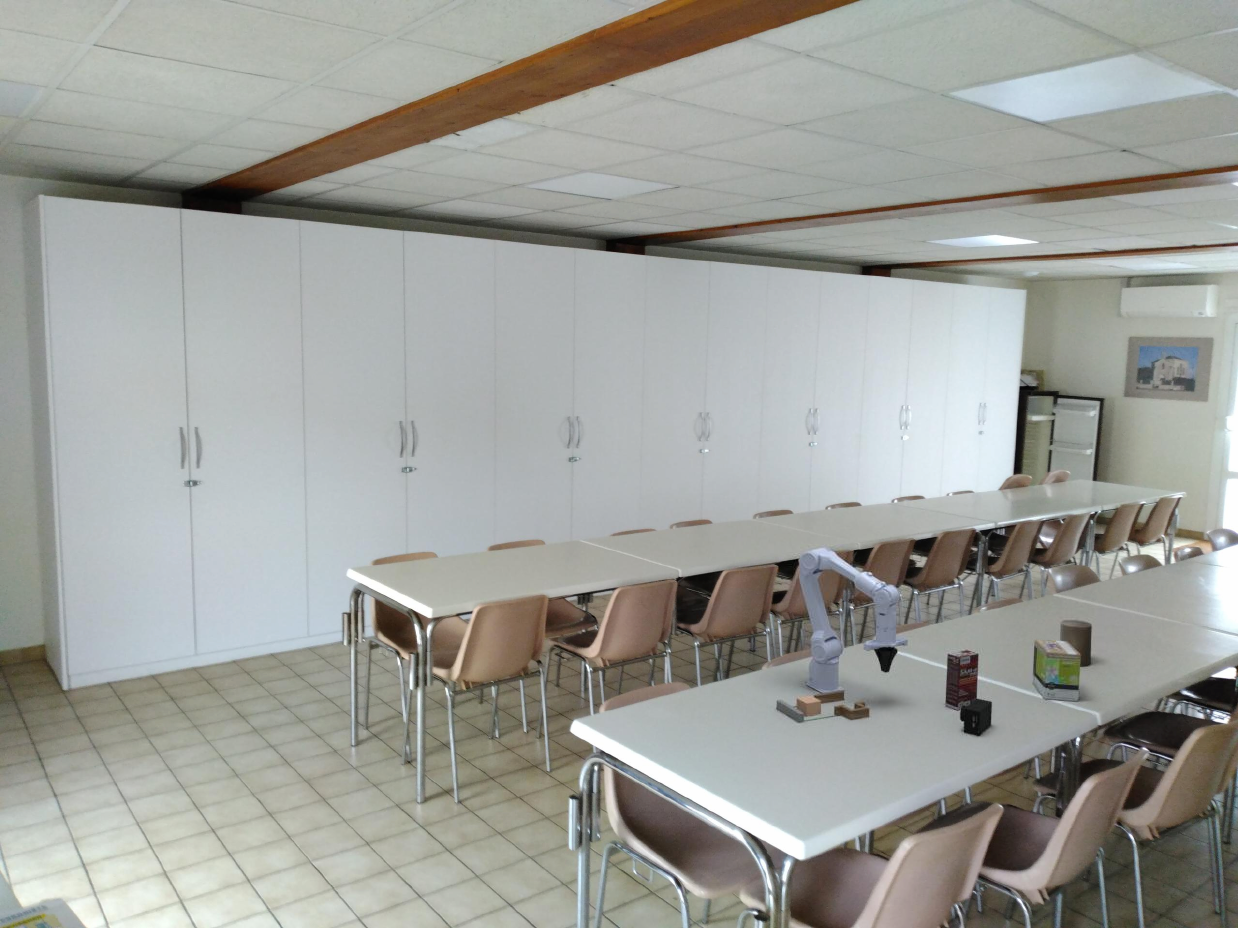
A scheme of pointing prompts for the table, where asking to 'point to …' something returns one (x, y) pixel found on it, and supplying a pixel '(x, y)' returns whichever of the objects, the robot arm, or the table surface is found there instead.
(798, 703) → the block
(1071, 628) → the pillar candle
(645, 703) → the table surface
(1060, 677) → the tea box
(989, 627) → the table surface
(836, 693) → the channel
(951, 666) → the supplement box
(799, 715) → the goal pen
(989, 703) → the digital camera
